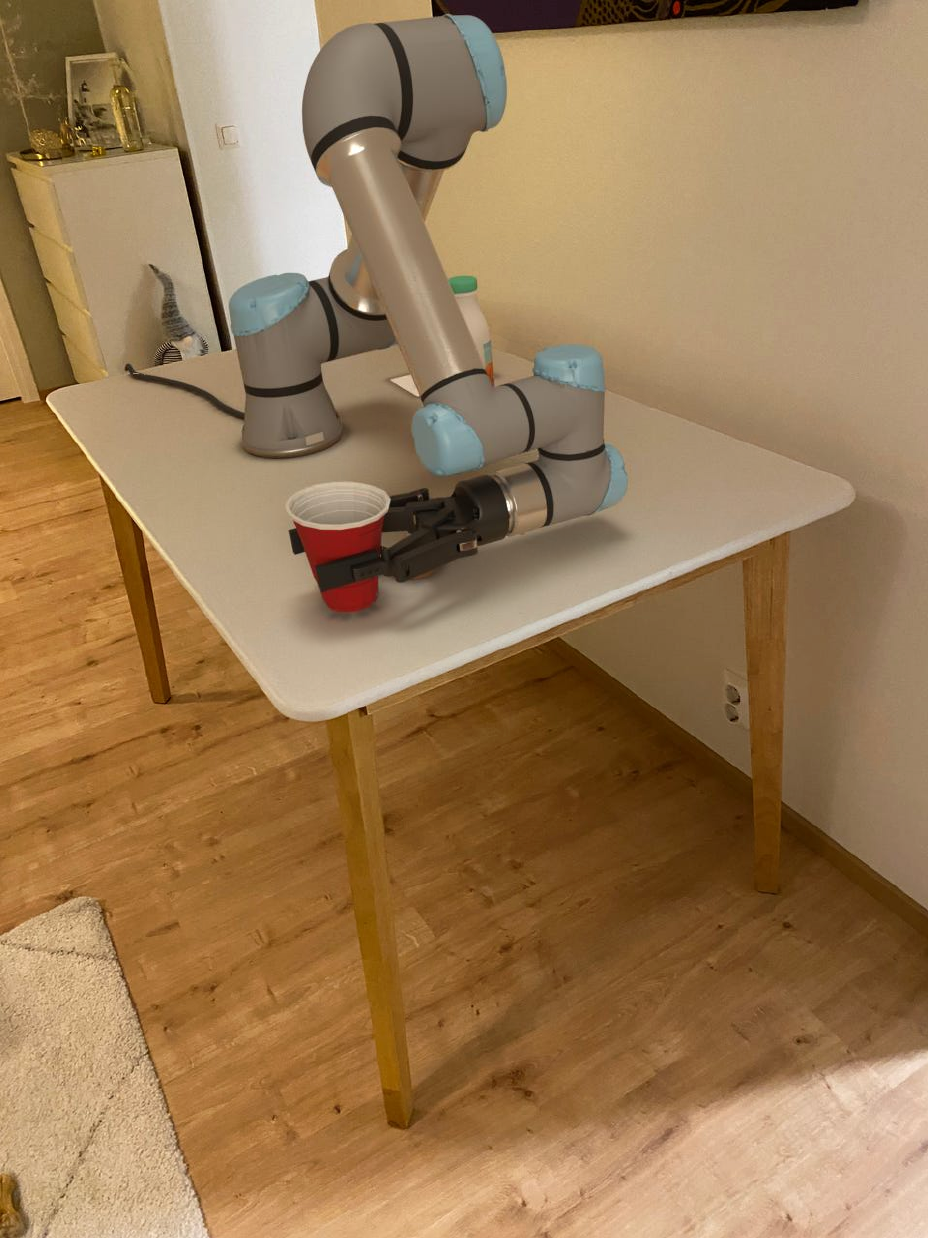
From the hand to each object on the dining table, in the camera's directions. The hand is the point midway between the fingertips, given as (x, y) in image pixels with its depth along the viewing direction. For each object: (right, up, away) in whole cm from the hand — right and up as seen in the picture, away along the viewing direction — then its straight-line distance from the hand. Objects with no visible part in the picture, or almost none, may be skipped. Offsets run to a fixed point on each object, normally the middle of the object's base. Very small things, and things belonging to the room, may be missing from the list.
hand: (304, 560), depth 102 cm
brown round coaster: (+11, 0, +10) cm, 15 cm away
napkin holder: (+13, +35, +67) cm, 77 cm away
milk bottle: (+18, +27, +53) cm, 63 cm away
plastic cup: (+5, -4, +5) cm, 8 cm away
